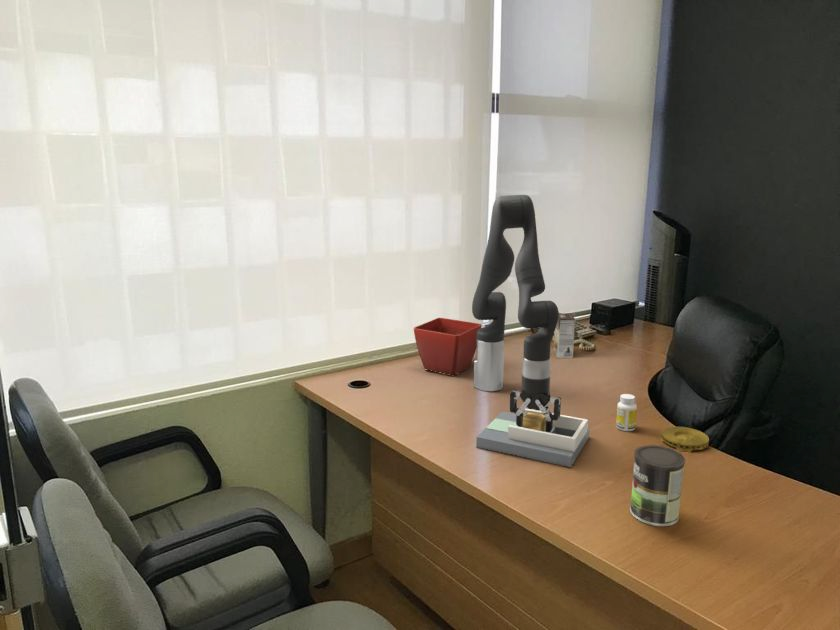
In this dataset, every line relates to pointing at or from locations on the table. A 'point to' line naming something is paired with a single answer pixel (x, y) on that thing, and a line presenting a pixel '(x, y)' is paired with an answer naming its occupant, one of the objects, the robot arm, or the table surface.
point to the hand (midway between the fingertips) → (534, 429)
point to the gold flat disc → (685, 438)
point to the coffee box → (564, 336)
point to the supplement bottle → (626, 413)
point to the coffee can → (657, 485)
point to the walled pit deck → (536, 438)
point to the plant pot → (446, 344)
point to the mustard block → (534, 421)
